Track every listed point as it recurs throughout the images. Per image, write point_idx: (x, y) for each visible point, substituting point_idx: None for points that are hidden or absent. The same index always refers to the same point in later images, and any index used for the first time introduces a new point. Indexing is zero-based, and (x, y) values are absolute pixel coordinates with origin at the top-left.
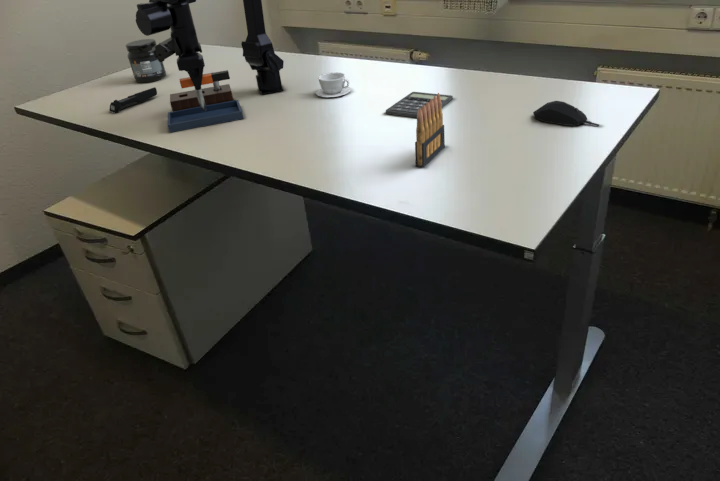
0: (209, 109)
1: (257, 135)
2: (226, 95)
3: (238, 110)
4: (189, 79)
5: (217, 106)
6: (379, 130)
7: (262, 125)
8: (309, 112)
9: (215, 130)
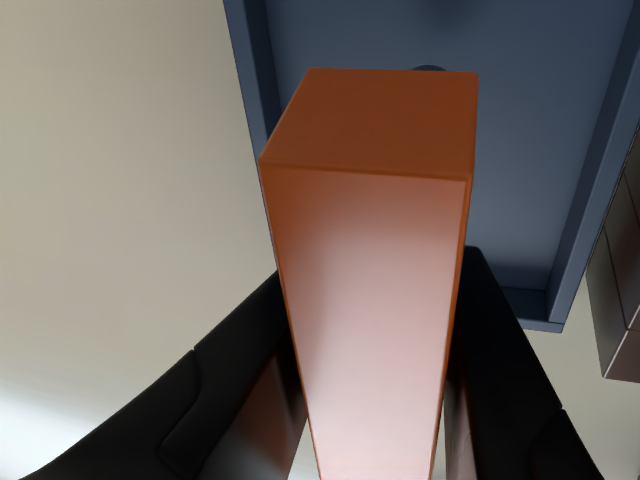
0: (599, 119)
1: (46, 260)
2: (611, 321)
3: None
4: (289, 319)
5: (580, 194)
6: None
7: (166, 301)
8: None
9: (145, 98)
